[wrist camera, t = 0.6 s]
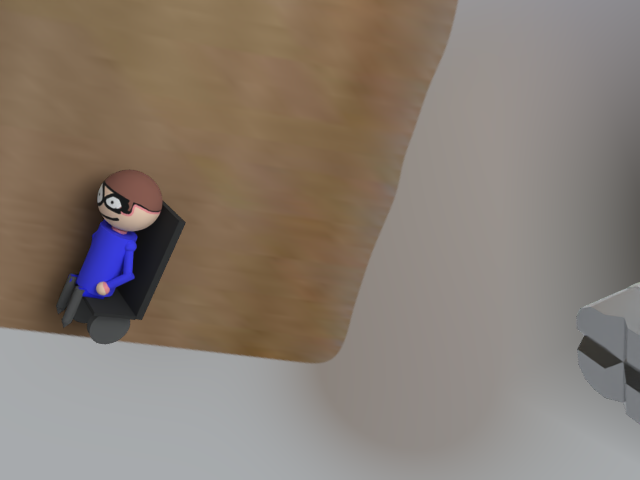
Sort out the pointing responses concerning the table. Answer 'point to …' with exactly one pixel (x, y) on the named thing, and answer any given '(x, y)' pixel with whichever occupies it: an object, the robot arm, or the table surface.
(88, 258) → the character figurine
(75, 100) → the table surface
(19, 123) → the table surface
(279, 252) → the table surface
